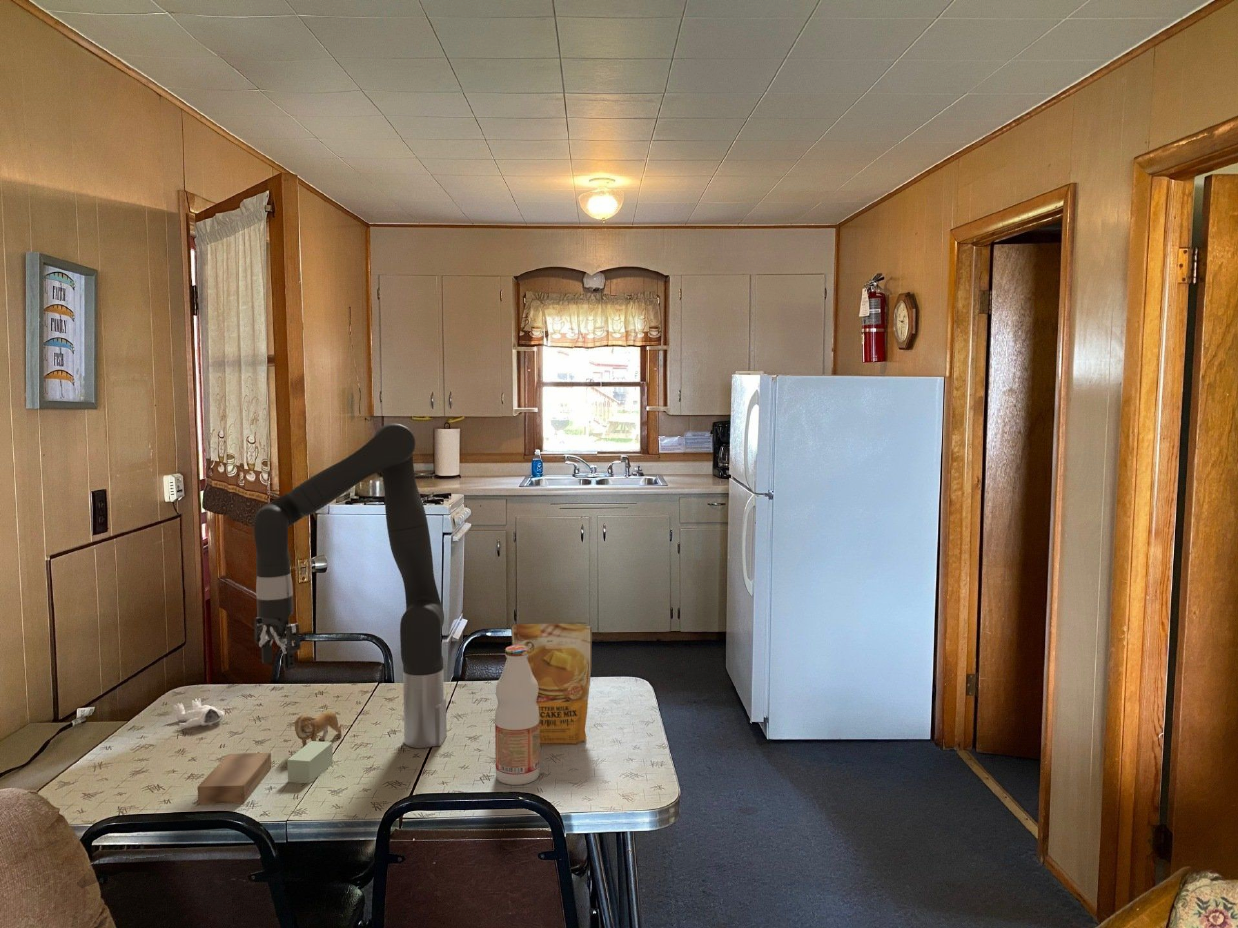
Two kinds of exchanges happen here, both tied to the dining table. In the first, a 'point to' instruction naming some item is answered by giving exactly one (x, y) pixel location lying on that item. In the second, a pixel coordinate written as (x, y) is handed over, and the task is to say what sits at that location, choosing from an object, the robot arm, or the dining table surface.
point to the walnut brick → (234, 778)
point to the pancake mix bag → (559, 677)
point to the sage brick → (310, 762)
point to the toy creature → (197, 714)
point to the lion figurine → (316, 726)
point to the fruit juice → (517, 720)
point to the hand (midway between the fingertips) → (278, 665)
